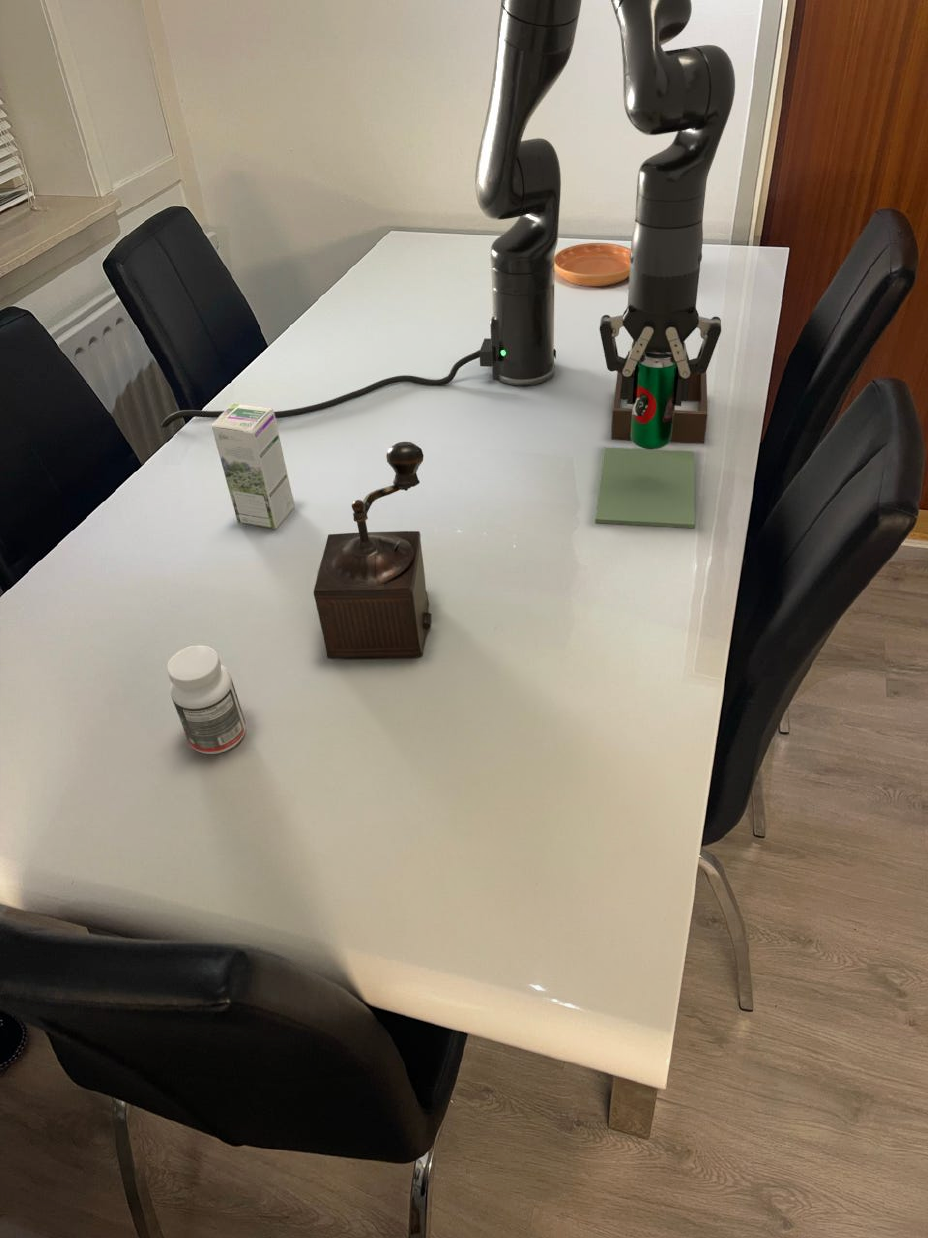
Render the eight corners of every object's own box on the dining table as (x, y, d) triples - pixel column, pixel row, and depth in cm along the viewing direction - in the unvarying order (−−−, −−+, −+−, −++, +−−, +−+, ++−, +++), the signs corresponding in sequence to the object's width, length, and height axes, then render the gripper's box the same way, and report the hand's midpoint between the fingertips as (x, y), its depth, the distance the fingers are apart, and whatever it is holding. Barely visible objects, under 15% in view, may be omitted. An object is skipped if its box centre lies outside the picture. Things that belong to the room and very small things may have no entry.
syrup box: (296, 506, 122) (275, 405, 113) (275, 531, 118) (251, 429, 109) (258, 500, 124) (234, 400, 114) (235, 525, 120) (209, 424, 110)
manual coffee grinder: (428, 659, 99) (412, 518, 87) (325, 660, 99) (295, 521, 88) (437, 568, 110) (424, 433, 99) (345, 570, 111) (321, 436, 99)
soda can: (670, 452, 114) (679, 360, 106) (628, 450, 115) (634, 358, 107) (672, 431, 118) (681, 341, 110) (631, 429, 119) (637, 339, 111)
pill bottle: (192, 716, 94) (166, 643, 88) (249, 710, 95) (227, 637, 88) (185, 759, 90) (156, 686, 84) (244, 753, 90) (220, 680, 84)
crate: (611, 439, 130) (612, 410, 127) (616, 396, 140) (617, 368, 137) (703, 443, 128) (707, 413, 125) (703, 399, 137) (706, 370, 134)
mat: (594, 522, 116) (595, 518, 115) (604, 451, 128) (604, 447, 128) (694, 528, 113) (695, 524, 113) (694, 455, 126) (694, 451, 126)
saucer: (643, 287, 169) (644, 271, 167) (555, 292, 170) (555, 276, 168) (632, 255, 181) (633, 240, 179) (550, 260, 182) (550, 244, 180)
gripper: (732, 248, 103) (714, 389, 114) (601, 247, 106) (596, 385, 117) (734, 274, 98) (715, 419, 109) (596, 273, 100) (591, 415, 111)
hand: (653, 401), depth 113 cm, fingers closed on soda can, 5 cm apart
